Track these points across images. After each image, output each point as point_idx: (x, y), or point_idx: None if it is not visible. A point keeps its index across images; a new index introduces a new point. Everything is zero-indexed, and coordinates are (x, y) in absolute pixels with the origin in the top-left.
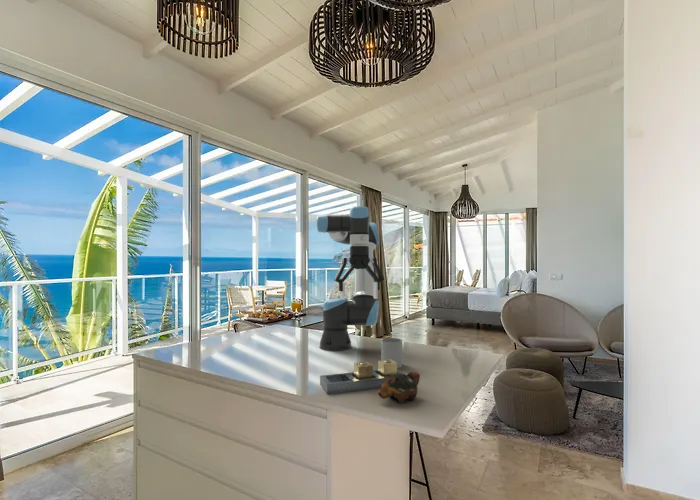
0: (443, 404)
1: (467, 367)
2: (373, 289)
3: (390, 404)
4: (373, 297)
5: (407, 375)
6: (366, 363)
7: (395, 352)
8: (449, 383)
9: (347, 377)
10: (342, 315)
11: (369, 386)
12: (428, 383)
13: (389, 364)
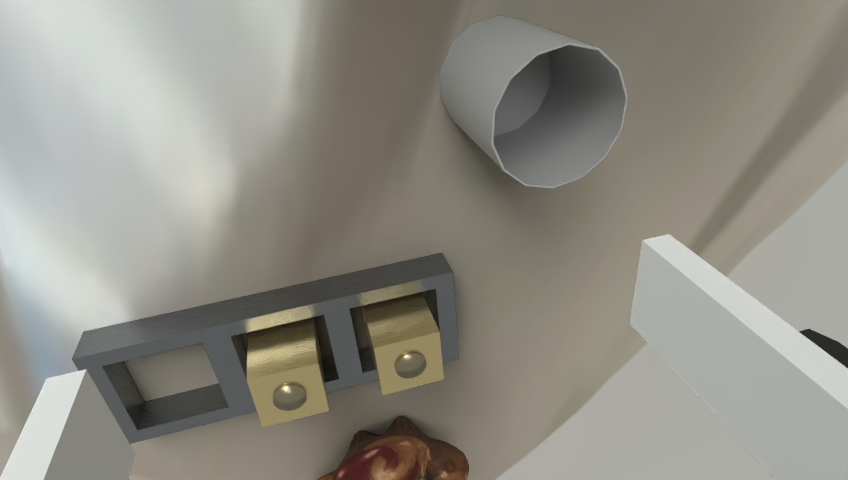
0: (479, 462)
1: (766, 168)
2: (748, 334)
3: None
4: (648, 248)
5: (428, 477)
6: (306, 398)
7: (524, 164)
8: (587, 330)
9: (214, 370)
10: None
11: None
12: (524, 328)
13: (408, 385)
